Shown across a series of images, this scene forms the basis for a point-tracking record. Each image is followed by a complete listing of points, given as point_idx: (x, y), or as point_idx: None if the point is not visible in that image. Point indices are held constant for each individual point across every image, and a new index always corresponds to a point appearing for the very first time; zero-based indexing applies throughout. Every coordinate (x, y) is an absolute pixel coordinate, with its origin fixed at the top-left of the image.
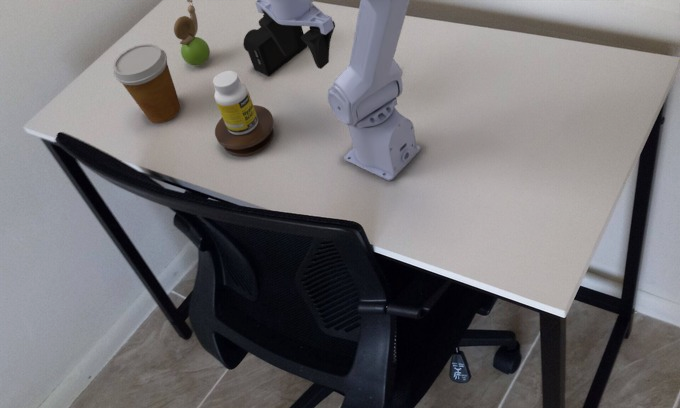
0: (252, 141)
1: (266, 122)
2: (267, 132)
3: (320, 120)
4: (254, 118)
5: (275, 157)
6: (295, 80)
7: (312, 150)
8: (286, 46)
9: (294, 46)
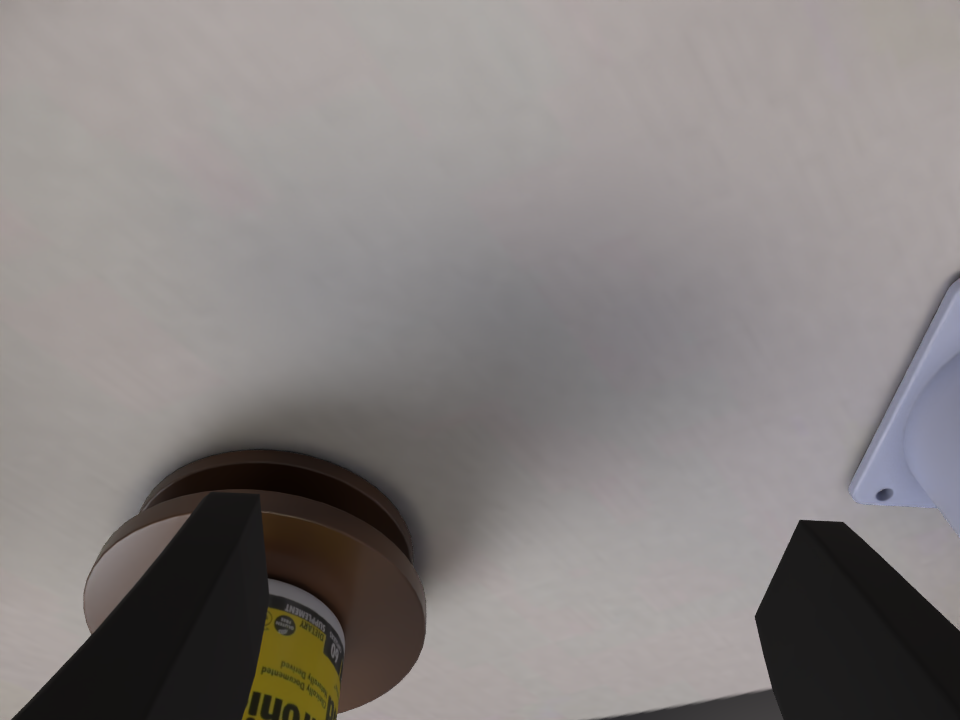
0: (402, 676)
1: (367, 581)
2: (425, 615)
3: (569, 327)
4: (334, 666)
5: (498, 580)
6: (90, 57)
7: (650, 497)
8: (237, 668)
9: (249, 510)
